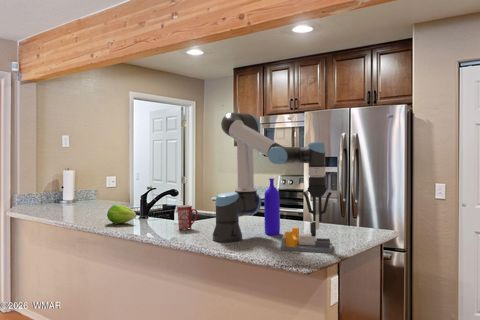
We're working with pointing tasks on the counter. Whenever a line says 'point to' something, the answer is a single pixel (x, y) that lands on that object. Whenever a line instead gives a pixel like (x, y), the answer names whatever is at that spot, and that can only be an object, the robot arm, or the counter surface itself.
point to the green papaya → (120, 214)
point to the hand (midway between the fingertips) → (317, 228)
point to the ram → (309, 236)
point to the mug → (185, 216)
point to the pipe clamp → (292, 238)
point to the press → (310, 246)
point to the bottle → (272, 210)
